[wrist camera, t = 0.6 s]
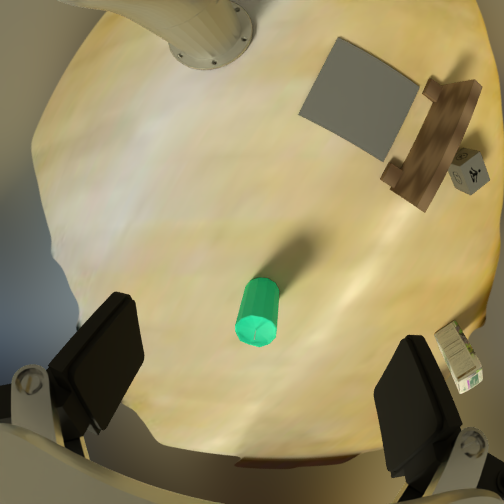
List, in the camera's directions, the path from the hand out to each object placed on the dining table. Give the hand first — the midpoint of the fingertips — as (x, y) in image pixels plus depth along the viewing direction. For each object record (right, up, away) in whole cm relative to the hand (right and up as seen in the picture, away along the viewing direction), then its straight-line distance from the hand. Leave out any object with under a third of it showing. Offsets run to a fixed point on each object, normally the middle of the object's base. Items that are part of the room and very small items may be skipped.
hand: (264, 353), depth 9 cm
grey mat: (+15, +25, +24) cm, 38 cm away
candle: (+1, -3, +39) cm, 39 cm away
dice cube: (+33, +17, +26) cm, 45 cm away
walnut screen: (+25, +21, +25) cm, 41 cm away
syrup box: (+41, -14, +39) cm, 59 cm away
